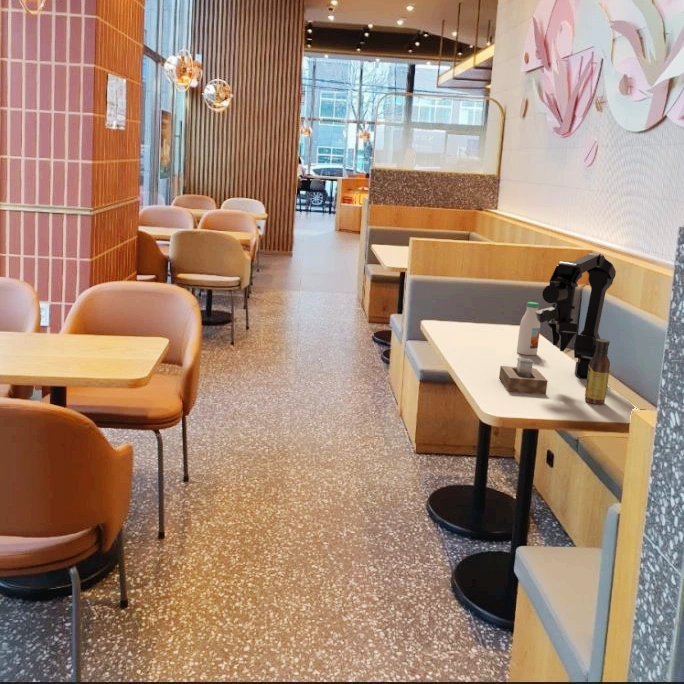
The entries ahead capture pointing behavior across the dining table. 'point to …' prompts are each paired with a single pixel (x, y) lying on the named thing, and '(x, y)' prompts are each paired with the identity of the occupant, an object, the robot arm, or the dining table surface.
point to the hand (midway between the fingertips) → (558, 348)
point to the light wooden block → (524, 367)
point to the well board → (523, 381)
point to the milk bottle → (529, 331)
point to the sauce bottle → (598, 374)
